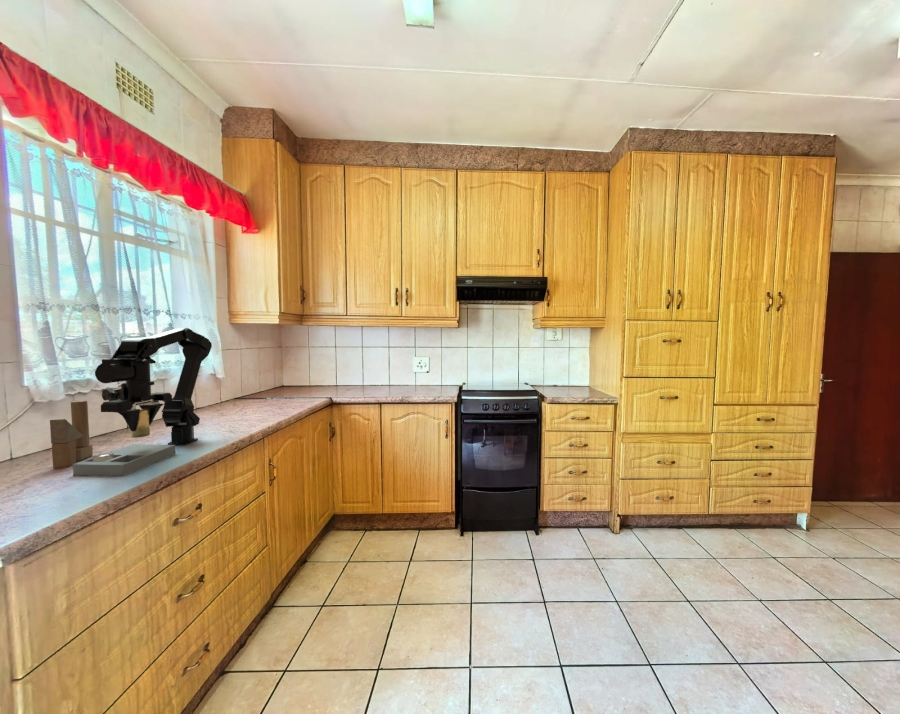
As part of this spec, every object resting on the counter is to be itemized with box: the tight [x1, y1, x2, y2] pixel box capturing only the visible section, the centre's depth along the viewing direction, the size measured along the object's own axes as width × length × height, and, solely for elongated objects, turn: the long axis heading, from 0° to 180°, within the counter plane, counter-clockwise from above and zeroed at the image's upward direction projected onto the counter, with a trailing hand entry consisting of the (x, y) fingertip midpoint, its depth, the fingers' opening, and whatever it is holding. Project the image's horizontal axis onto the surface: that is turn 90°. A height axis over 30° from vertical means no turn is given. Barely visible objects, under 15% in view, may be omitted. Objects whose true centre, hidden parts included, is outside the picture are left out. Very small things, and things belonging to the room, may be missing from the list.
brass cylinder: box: [130, 408, 151, 439], centre depth 109 cm, size 4×4×8 cm
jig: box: [72, 443, 177, 477], centre depth 106 cm, size 18×14×3 cm
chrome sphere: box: [91, 452, 114, 462], centre depth 102 cm, size 4×4×4 cm
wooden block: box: [49, 399, 94, 469], centre depth 107 cm, size 4×11×18 cm, turn 17°
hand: (140, 429), depth 109 cm, fingers closed on brass cylinder, 4 cm apart
